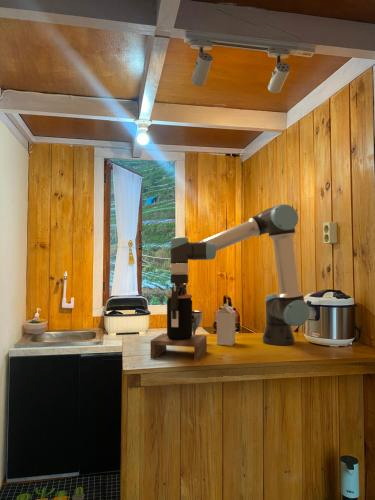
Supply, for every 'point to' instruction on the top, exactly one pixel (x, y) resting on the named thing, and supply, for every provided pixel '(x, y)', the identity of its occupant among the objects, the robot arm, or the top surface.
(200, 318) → the wine glass
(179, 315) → the coffee jar
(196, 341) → the walnut shelf
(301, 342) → the top surface
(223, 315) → the milk carton
